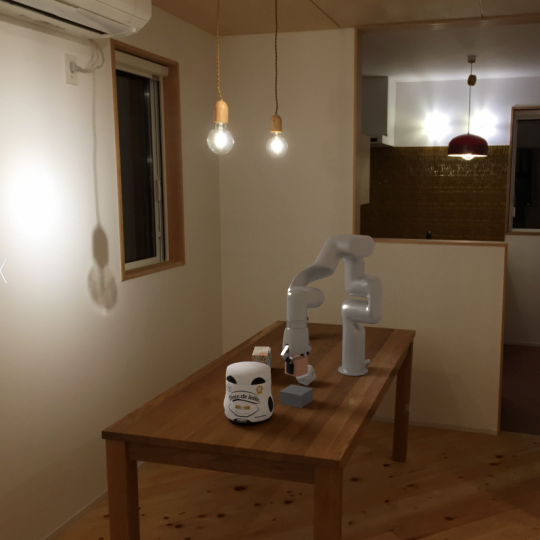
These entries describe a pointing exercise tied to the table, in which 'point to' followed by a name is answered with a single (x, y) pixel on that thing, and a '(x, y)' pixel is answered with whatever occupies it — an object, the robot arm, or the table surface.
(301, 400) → the charcoal block
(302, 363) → the terracotta cube
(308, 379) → the die
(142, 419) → the table surface
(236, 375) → the milk container
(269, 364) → the stack of blocks
